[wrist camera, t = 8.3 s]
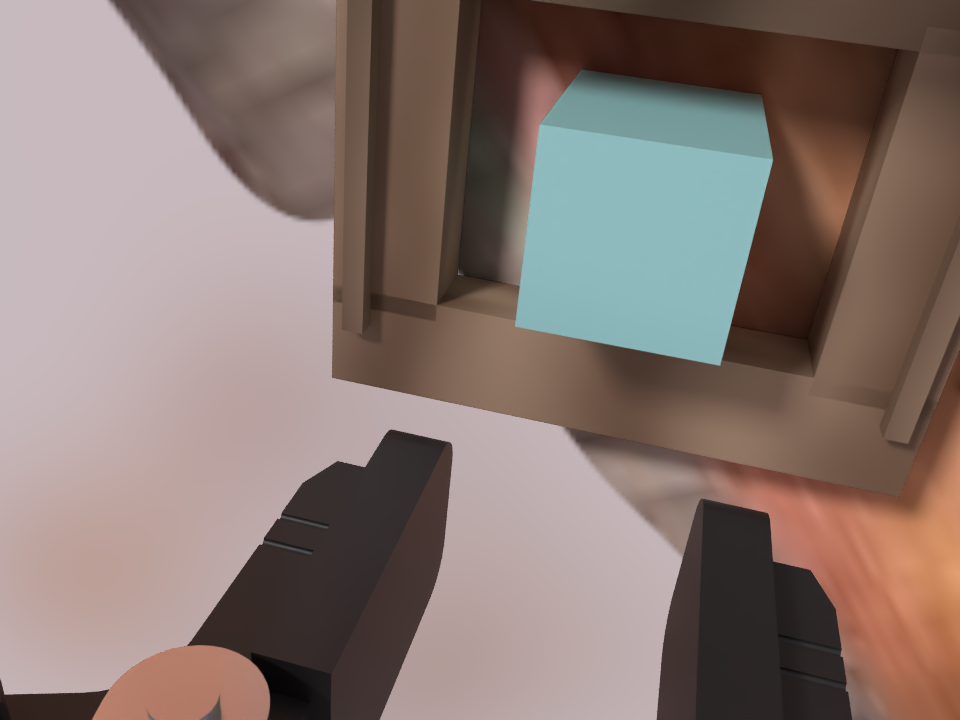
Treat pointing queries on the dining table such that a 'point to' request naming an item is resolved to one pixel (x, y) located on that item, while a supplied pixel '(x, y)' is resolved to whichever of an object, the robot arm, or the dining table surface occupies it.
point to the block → (643, 214)
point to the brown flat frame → (634, 373)
